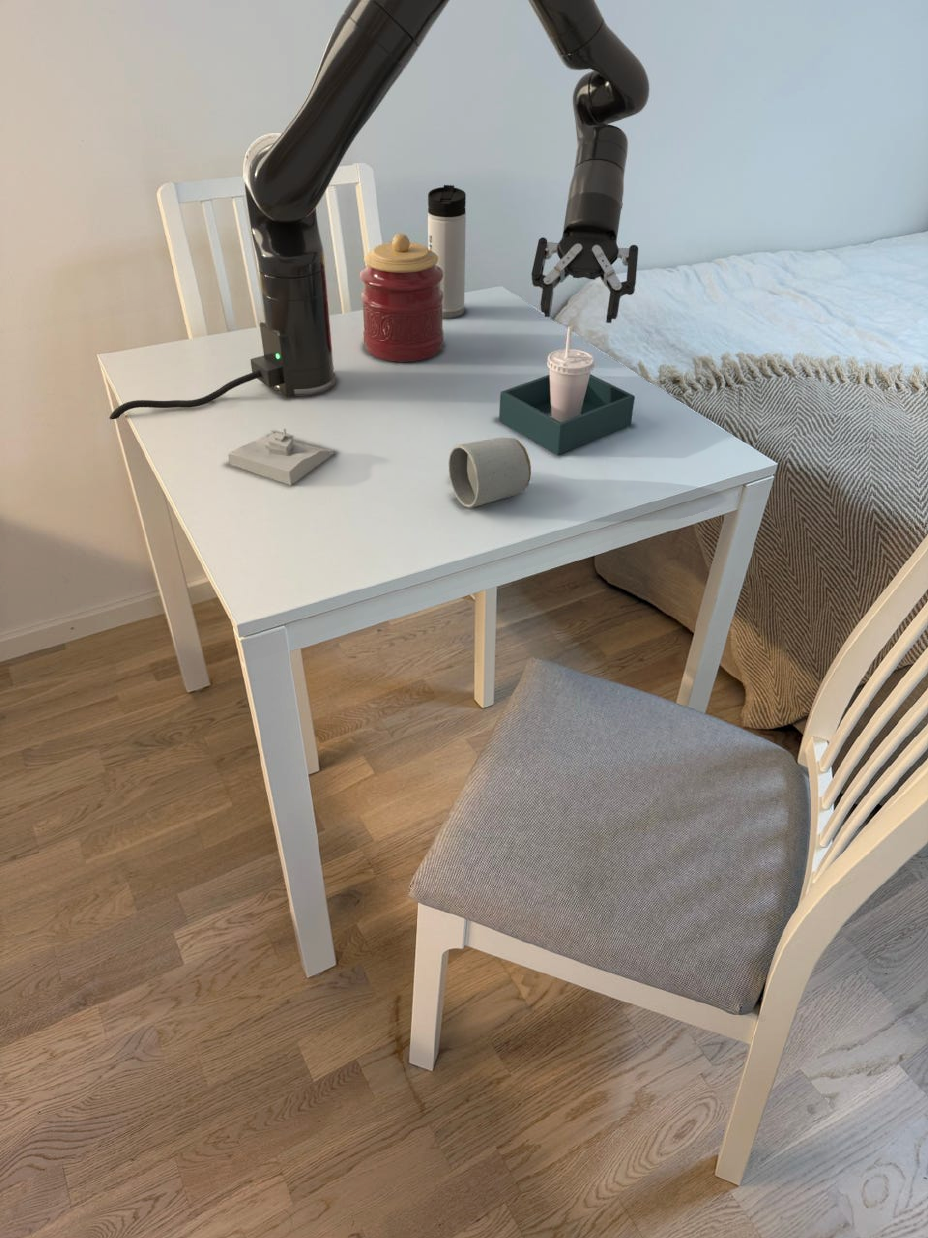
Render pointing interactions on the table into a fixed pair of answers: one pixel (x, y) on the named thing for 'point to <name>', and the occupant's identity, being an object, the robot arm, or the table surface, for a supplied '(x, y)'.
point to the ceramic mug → (488, 470)
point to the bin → (598, 418)
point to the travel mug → (449, 244)
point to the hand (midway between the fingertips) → (577, 317)
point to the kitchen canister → (402, 301)
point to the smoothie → (568, 380)
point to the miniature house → (278, 457)
